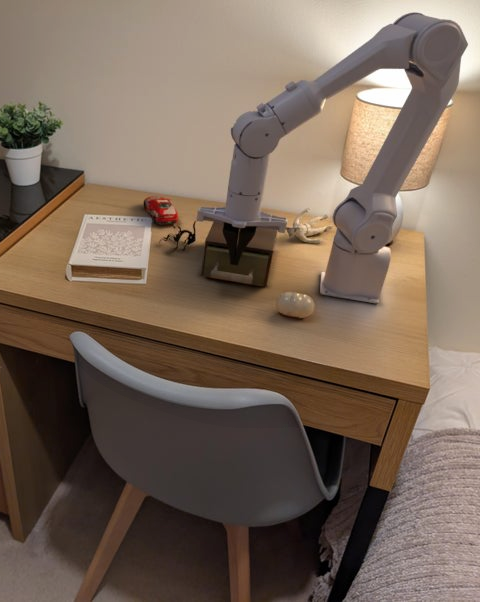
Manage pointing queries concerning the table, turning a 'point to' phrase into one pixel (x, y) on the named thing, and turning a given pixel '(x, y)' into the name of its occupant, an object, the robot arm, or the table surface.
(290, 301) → the egg
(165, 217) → the race car
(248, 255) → the drawer
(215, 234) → the cabinet
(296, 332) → the table surface
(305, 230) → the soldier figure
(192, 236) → the creature
